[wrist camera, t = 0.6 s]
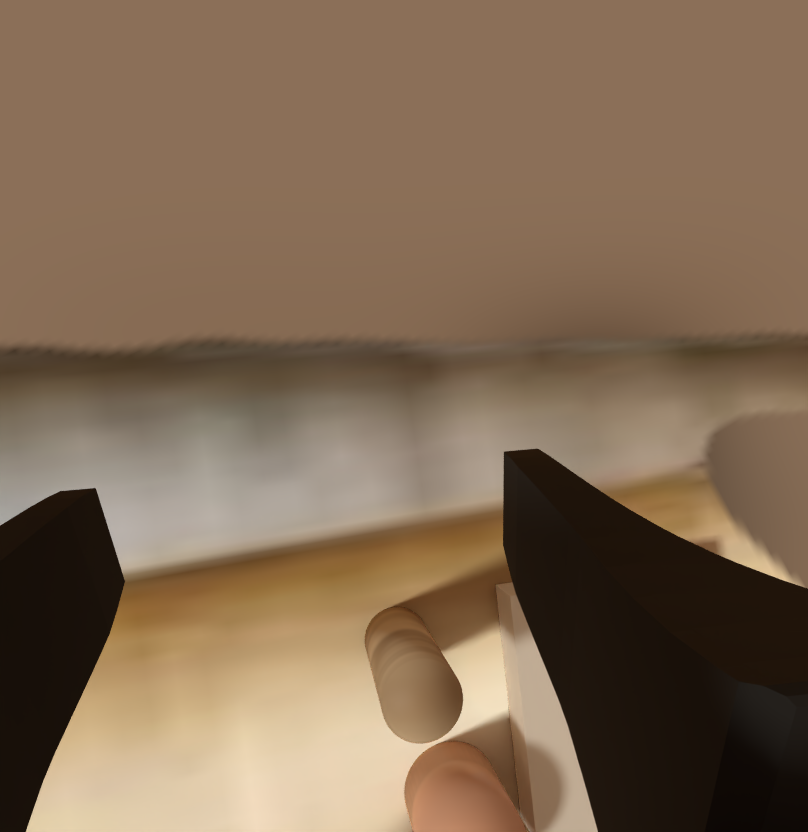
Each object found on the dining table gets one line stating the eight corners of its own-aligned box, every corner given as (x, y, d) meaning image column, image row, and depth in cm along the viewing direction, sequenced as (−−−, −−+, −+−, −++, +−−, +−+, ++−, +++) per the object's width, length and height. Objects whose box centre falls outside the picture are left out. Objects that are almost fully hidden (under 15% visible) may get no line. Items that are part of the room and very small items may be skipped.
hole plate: (697, 780, 35) (726, 806, 32) (520, 815, 33) (537, 845, 31) (671, 559, 35) (698, 568, 33) (495, 584, 34) (509, 596, 31)
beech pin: (429, 665, 33) (466, 735, 25) (368, 675, 32) (386, 750, 25) (423, 602, 33) (458, 653, 25) (361, 611, 32) (377, 666, 25)
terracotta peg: (500, 827, 33) (533, 894, 28) (409, 845, 32) (427, 917, 27) (490, 733, 33) (521, 784, 28) (399, 749, 33) (415, 805, 28)
